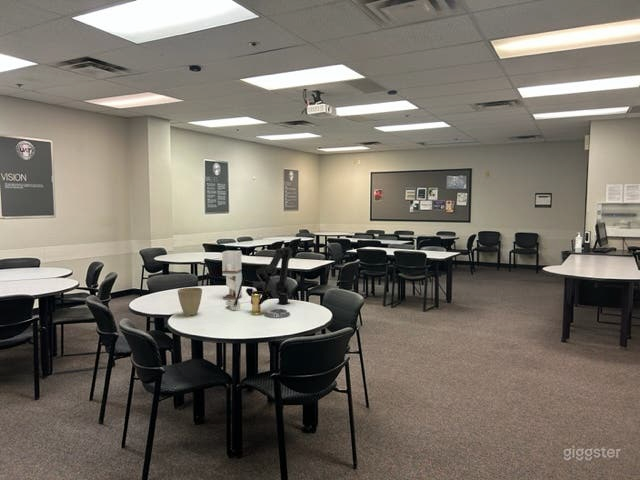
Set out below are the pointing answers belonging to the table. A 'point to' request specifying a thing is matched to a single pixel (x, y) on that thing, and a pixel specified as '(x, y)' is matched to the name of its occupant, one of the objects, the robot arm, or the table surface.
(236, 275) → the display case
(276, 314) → the flange
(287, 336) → the table surface
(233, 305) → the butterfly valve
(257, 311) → the gold flared cylinder
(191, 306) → the plant pot
